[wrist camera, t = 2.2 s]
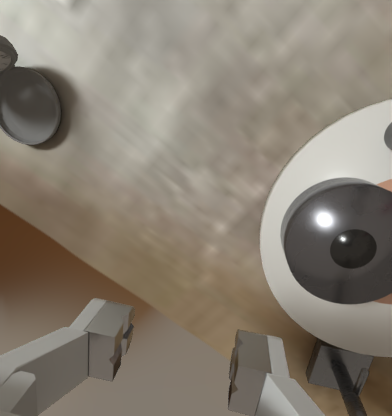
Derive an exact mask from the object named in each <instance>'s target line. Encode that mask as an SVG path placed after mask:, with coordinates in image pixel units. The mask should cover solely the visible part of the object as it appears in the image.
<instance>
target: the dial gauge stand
mask: <svg viewBox="0 0 392 416" xmlns="http://www.w3.org/2000/svg"><path fill="white" fill-rule="evenodd" d="M373 358H374V356H371V355H365V354H359V353H356V352H352V351H348V350H344V349H342V348H339V347H336V346H334V345H331V344H329V343H327V342H325V341H323V340H321V339H319V338H318V339H317V342H316V345H315V348H314V350H313V353H312V356H311V359H310V362H309V365H308V368H307V371H306V376H307V380H308V383H311V384H315V385H320V386H324V387H329V388H333V389H337V390H340V392H341V395H342V398H343V400H344V403H345V406H346V408H347V411H348V414H349V416H367V414H366V411H365V409H364V407H363V404H362V402H361V400H360V397H359V395H360V393H361V391H362V389H363V386H364V384H365V382H366V379H367V377H368V375H369V371H368V369H369V367H370V365H371V362H372V360H373Z"/></svg>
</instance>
